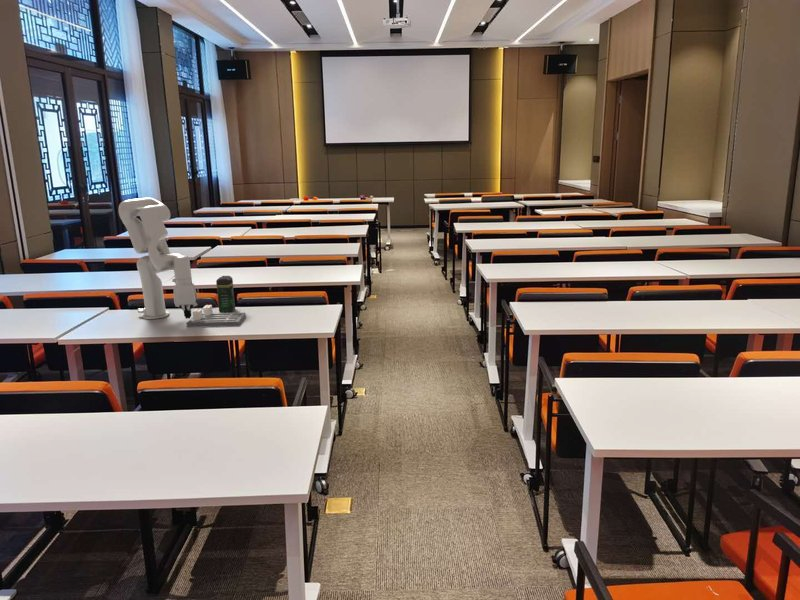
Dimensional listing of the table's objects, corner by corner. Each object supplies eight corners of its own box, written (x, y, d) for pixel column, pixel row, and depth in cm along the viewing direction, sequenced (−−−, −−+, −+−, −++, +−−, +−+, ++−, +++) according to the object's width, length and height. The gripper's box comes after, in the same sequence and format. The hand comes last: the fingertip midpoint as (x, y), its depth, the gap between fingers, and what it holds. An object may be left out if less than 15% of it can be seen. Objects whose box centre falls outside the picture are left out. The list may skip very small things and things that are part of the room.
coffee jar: (233, 313, 305) (229, 278, 300) (217, 313, 304) (214, 279, 299) (237, 308, 314) (233, 274, 309) (222, 308, 313) (218, 274, 308)
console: (186, 326, 284) (185, 312, 282) (196, 317, 298) (194, 304, 296) (238, 325, 284) (237, 311, 282) (245, 316, 299) (244, 303, 297)
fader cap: (193, 320, 284) (192, 311, 283) (196, 317, 289) (195, 309, 288) (199, 319, 284) (198, 311, 283) (202, 316, 289) (201, 308, 288)
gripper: (165, 283, 278) (170, 320, 283) (196, 282, 278) (201, 319, 283) (170, 279, 285) (175, 315, 290) (201, 279, 285) (205, 315, 290)
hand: (188, 317), depth 286 cm, fingers closed
